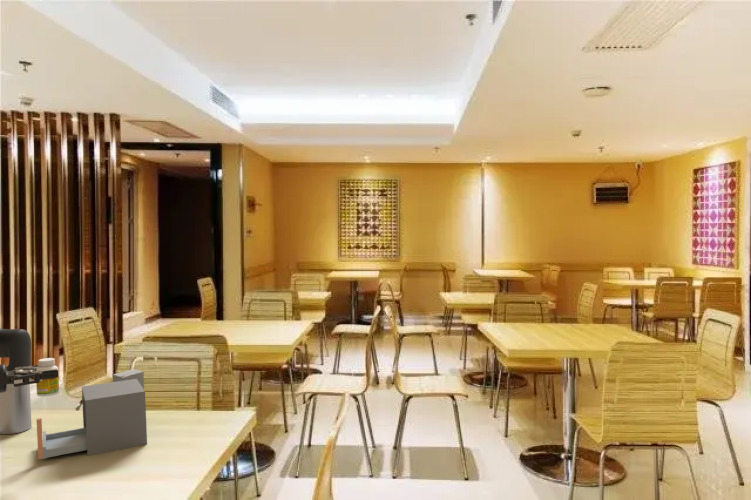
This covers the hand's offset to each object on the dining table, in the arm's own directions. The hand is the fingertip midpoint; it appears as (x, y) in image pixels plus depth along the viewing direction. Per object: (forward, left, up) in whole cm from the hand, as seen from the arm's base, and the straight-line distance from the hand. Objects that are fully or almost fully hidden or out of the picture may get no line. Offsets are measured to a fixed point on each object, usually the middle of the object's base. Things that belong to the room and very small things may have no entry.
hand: (57, 371), depth 160 cm
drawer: (-9, +3, -24) cm, 26 cm away
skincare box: (-31, +22, -26) cm, 45 cm away
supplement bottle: (0, -3, -6) cm, 7 cm away
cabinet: (-9, +15, -25) cm, 31 cm away
